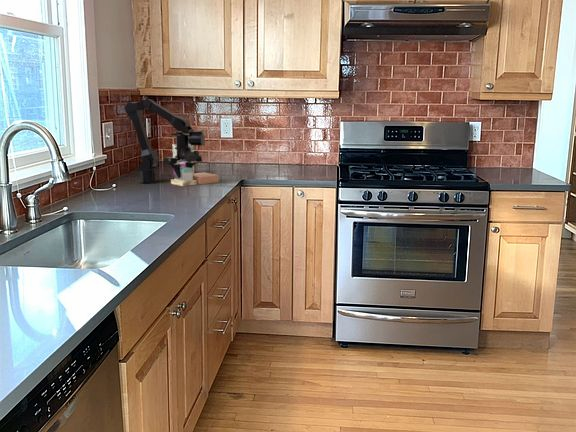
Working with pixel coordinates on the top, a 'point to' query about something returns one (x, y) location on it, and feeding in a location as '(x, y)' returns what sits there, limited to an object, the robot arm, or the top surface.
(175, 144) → the candy bar box
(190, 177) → the housing base
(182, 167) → the housing cover
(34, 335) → the top surface
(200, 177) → the terracotta riser
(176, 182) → the birch board
